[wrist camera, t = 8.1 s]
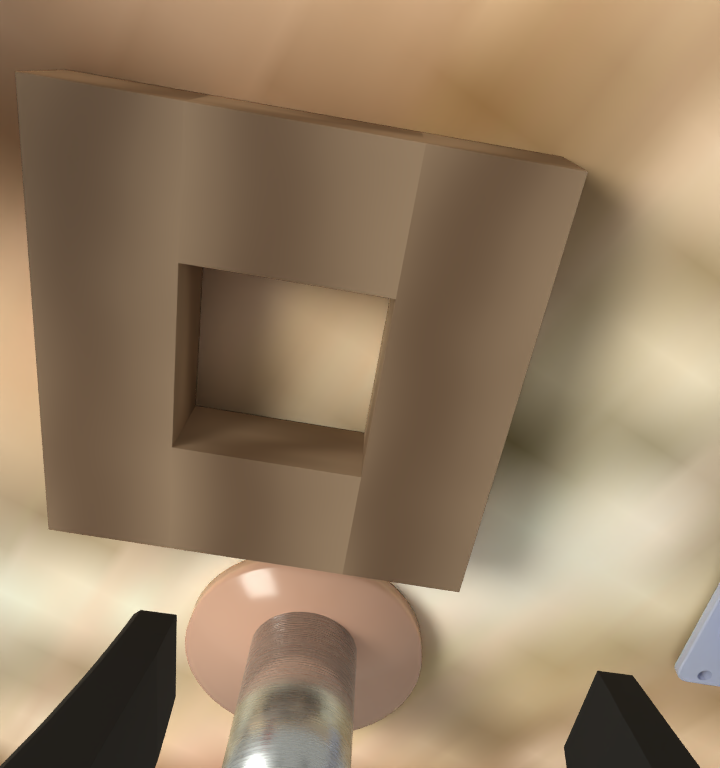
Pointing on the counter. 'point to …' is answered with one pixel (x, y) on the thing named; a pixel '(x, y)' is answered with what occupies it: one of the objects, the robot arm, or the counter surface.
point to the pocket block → (289, 263)
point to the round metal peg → (295, 696)
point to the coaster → (315, 595)
